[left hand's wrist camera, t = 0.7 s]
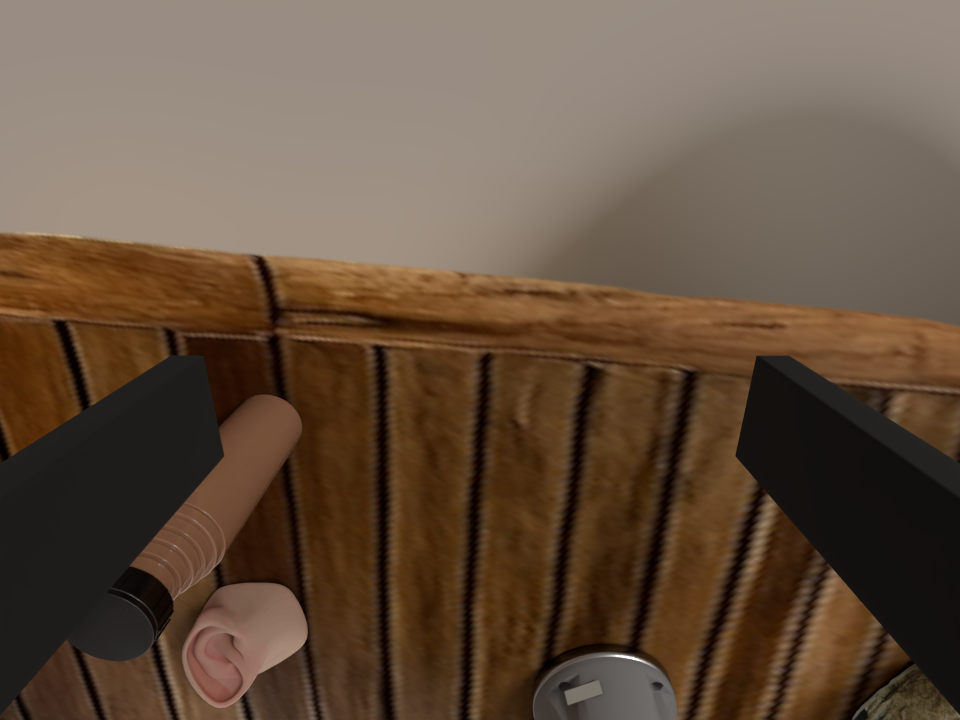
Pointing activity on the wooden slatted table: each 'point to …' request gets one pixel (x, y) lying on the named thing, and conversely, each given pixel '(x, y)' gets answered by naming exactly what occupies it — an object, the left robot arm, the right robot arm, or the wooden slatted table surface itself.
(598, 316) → the wooden slatted table surface
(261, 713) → the wooden slatted table surface
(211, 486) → the bottle
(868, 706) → the fossil
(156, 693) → the wooden slatted table surface
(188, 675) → the anatomical model
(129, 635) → the cap
